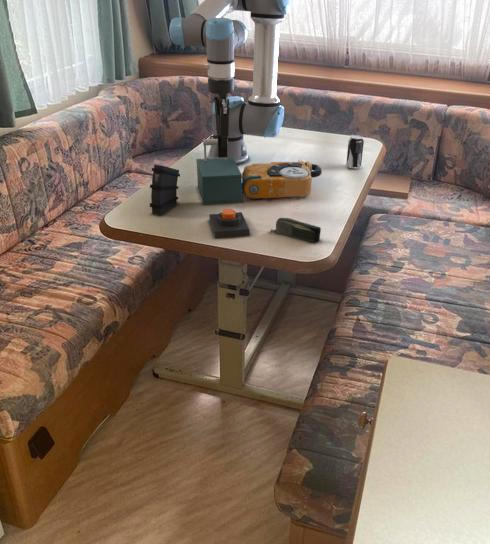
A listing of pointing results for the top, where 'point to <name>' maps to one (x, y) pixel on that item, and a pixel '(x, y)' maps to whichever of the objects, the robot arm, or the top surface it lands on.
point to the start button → (228, 214)
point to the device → (278, 179)
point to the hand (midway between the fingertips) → (222, 156)
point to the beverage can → (355, 151)
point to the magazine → (163, 189)
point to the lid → (217, 164)
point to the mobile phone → (297, 229)
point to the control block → (228, 226)
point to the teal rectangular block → (219, 189)
